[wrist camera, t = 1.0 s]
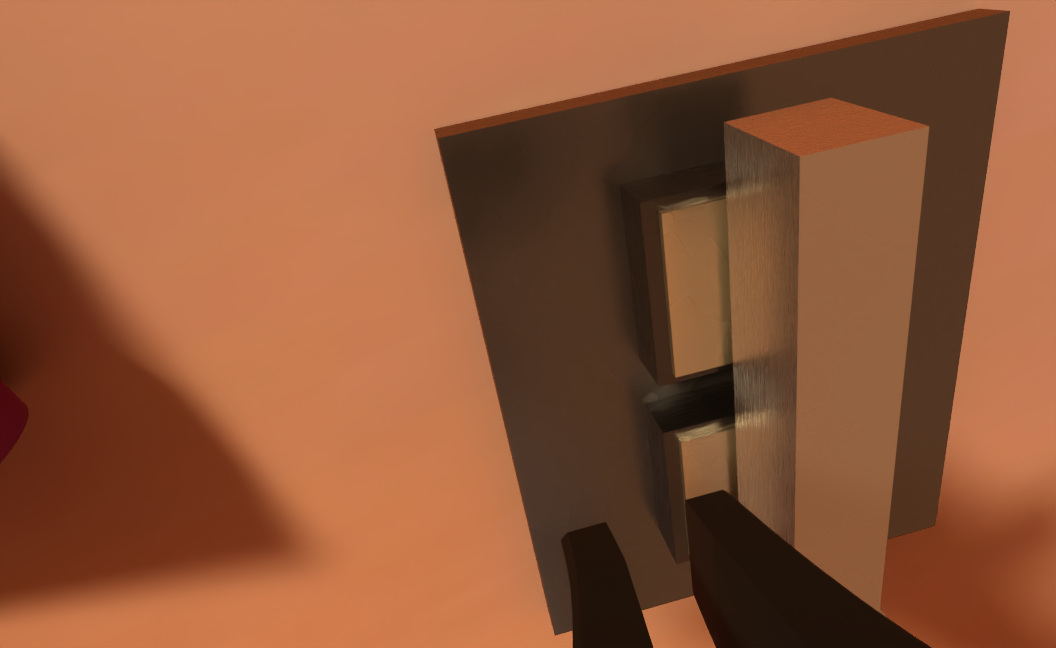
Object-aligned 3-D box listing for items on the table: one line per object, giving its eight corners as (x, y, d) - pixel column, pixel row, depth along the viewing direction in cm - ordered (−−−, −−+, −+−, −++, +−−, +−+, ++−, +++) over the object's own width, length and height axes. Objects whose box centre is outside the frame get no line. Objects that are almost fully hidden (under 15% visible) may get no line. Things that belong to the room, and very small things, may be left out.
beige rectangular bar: (836, 609, 23) (896, 693, 20) (719, 644, 22) (765, 734, 20) (866, 89, 15) (971, 116, 12) (687, 130, 14) (755, 167, 12)
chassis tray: (916, 506, 26) (970, 561, 23) (548, 611, 25) (567, 680, 22) (978, 8, 18) (1071, 15, 15) (434, 129, 16) (443, 156, 14)
